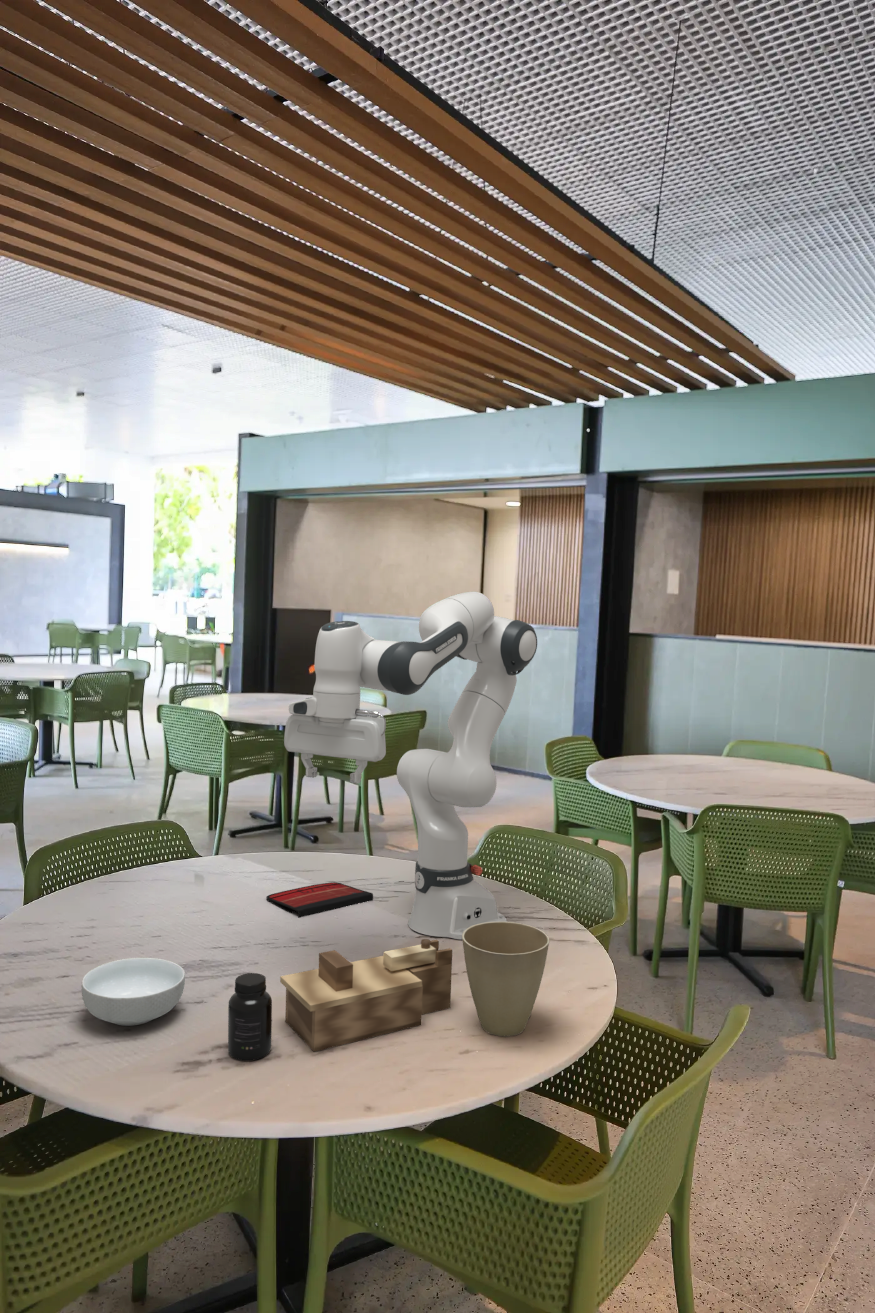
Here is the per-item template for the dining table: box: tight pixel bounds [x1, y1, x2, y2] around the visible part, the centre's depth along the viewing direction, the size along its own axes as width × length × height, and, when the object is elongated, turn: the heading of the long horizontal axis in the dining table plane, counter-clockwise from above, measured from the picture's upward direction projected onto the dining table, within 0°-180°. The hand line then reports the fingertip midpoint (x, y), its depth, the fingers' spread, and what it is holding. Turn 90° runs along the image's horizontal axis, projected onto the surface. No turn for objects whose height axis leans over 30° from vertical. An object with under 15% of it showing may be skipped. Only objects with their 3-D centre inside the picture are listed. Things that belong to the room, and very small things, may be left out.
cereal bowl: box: [81, 957, 186, 1027], centre depth 159 cm, size 17×17×7 cm
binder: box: [265, 881, 374, 919], centre depth 222 cm, size 16×2×21 cm
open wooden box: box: [284, 939, 453, 1053], centre depth 161 cm, size 28×12×11 cm, turn 122°
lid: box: [279, 949, 422, 1012], centre depth 158 cm, size 21×13×6 cm, turn 122°
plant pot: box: [461, 921, 550, 1037], centre depth 159 cm, size 15×15×16 cm
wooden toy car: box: [382, 938, 436, 971], centre depth 164 cm, size 9×3×4 cm, turn 122°
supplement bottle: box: [227, 972, 273, 1062], centre depth 148 cm, size 7×7×12 cm
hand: (333, 779), depth 175 cm, fingers open, 8 cm apart
